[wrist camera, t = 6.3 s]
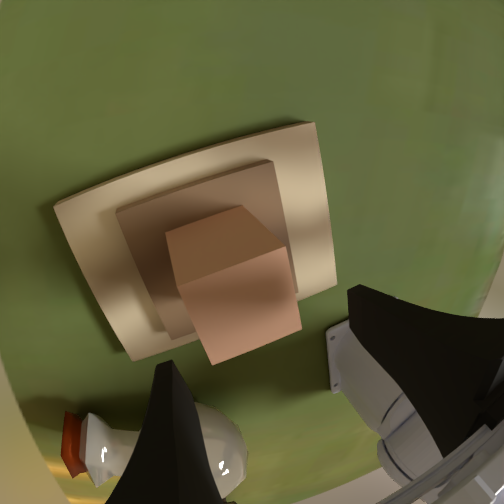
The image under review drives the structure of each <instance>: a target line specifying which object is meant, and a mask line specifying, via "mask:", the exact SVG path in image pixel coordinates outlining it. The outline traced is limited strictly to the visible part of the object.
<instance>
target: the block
mask: <svg viewBox="0 0 504 504" xmlns="http://www.w3.org/2000/svg"><path fill="white" fill-rule="evenodd" d="M165 234H166V239H167V244H168V249H169V253H170V258H171V263H172V267H173V272H174V276H175V281H176V285H177V288H178V291H179V293H180V295H181V298H182V300H183V302H184V305H185V307H186V309H187V311H188V314H189V316H190V318H191V320H192V323H193V325H194V327H195V329H196V332H197V334H198V336H199V338H200V340H201V342H202V345H203V347H204V349H205V351H206V353H207V355H208V357H209V359H210V362H211V364H212V365H215V364H217V363H220V362H223V361H225V360H228V359H230V358H233V357H236V356H238V355H241V354H243V353H246V352H248V351H251V350H253V349H256V348H258V347H261V346H263V345H266V344H268V343H270V342H273V341H275V340H278V339H280V338H282V337H285V336H287V335H289V334H292V333H294V332H296V331H299V330H301V329H302V326H301V320H300V315H299V310H298V305H297V299H296V294H295V289H294V284H293V279H292V274H291V269H290V264H289V259H288V254H287V249H286V246H285V245H284V244H283V243H282V242H281V241H280V240H279V239H278V238H277V237H276V236H275V235H274V234H273V233H271V232H270V231H269V230H268V229H267V228H266V227H265V226H264V225H263V224H262V223H261V222H260V221H259V220H258V219H257V218H256V217H254V216H253V215H252V214H251V213H250V212H249V211H248V210H247V209H246V208H245V207H244V206H243V205H242V206H239V207H236V208H233V209H230V210H227V211H224V212H221V213H218V214H215V215H213V216H210V217H207V218H204V219H201V220H198V221H196V222H193V223H190V224H187V225H185V226H182V227H179V228H176V229H174V230H171V231H168V232H165Z"/></svg>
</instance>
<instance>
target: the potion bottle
mask: <svg viewBox="0 0 504 504" xmlns="http://www.w3.org/2000/svg"><path fill="white" fill-rule="evenodd" d="M194 403H195V406H196V409H197V412H198V415H199V420H200V425H201V430H202V434H203V439H204V443H205V448H206V452H207V457H208V461H209V465H210V468H211V472H212V475H213V477H214V480H215V483H216V485H217V488H218V491H219V493H220V496H221V498H222V499H224V498H225V497H226V496H227V495H229V494H230V493H231V492H232V491H233V490H234V489H235V488H236V487H237V486H238V485H239V484H240V483H241V482H242V481H243V480H244V479H245V478H246V471H247V462H248V450H247V447H246V444H245V441H244V439H243V436H242V434H241V431H240V429H239V426H238V425H237V424H236V423H235V422H233V421H232V420H231V419H230V418H228V417H227V416H226V415H225V414H223V413H222V412H221V411H220V410H219V409H217V408H216V407H215V406H212V405H207V404H202V403H197V402H194ZM140 431H141V429H140V430H139V431H127V430H117V429H114V428H113V427H111V426H110V425H109V424H108V423H107V422H106V421H105V420H104V419H102V418H101V417H100V416H99V415H95V414H92V413H88V415H87V416H86V418H85V419H84V421H83V420H82V419H81V418H80V417H79V416H78V414H74V413H70V412H67V411H65V417H64V426H63V435H62V446H61V457H62V459H63V461H64V463H65V465H66V467H67V469H68V471H69V472H70V474H71V476H72V478H74V477H75V476H77V475H78V474H79V473H84V472H86V473H87V475H88V476H89V478H90V479H91V480H92V482H93V483H94V485H95V486H96V488H97V487H98V486H100V485H101V484H102V483H104V482H105V481H107V480H108V479H109V478H111V477H112V476H122V474H123V472H124V470H125V468H126V466H127V464H128V462H129V459H130V457H131V455H132V453H133V450H134V448H135V445H136V442H137V440H138V437H139V434H140Z"/></svg>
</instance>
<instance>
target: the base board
mask: <svg viewBox="0 0 504 504" xmlns="http://www.w3.org/2000/svg"><path fill="white" fill-rule="evenodd" d="M242 205H243V206H244V207H245V208H246V209H247V210H248V211H249V212H250V213H251V214H252V215H253V216H254V217H256V218H257V219H258V220H259V221H260V222H261V223H262V224H263V225H264V226H265V227H266V228H267V229H268V230H269V231H270V232H271V233H273V234H274V235H275V236H276V237H277V238H278V239H279V240H280V241H281V242H282V243H283V244H284V245H285V246H286V249H287V254H288V259H289V264H290V269H291V274H292V279H293V284H294V289H295V294H296V299H297V301H299V300H302V299H304V298H307V297H309V296H311V295H314V294H316V293H319V292H321V291H323V290H326V289H328V288H330V287H333V286H335V285H337V278H336V268H335V258H334V249H333V240H332V232H331V224H330V216H329V208H328V201H327V194H326V187H325V180H324V174H323V167H322V161H321V155H320V149H319V143H318V137H317V132H316V126H315V122H309V121H304V122H300V123H295V124H291V125H286V126H282V127H278V128H274V129H269V130H265V131H261V132H257V133H253V134H250V135H246V136H242V137H238V138H235V139H231V140H227V141H224V142H220V143H217V144H214V145H210V146H207V147H203V148H200V149H197V150H194V151H190V152H187V153H184V154H181V155H178V156H175V157H172V158H169V159H166V160H163V161H160V162H157V163H154V164H151V165H148V166H145V167H143V168H140V169H137V170H134V171H132V172H129V173H126V174H124V175H121V176H118V177H116V178H113V179H110V180H108V181H105V182H103V183H100V184H98V185H95V186H93V187H90V188H88V189H86V190H83V191H81V192H78V193H76V194H74V195H71V196H69V197H67V198H65V199H62V200H60V201H58V202H57V203H56V204H55V205H54V206H53V208H54V210H55V213H56V215H57V218H58V220H59V222H60V225H61V227H62V229H63V232H64V234H65V236H66V238H67V241H68V243H69V245H70V247H71V250H72V252H73V254H74V256H75V258H76V260H77V262H78V264H79V266H80V268H81V270H82V273H83V275H84V277H85V279H86V280H87V282H88V284H89V286H90V288H91V290H92V292H93V294H94V296H95V298H96V300H97V301H98V303H99V305H100V307H101V309H102V311H103V312H104V314H105V316H106V318H107V320H108V321H109V323H110V325H111V327H112V328H113V330H114V332H115V333H116V335H117V337H118V338H119V340H120V342H121V343H122V345H123V347H124V348H125V350H126V351H127V353H128V355H129V356H130V358H131V359H132V361H133V362H134V361H137V360H140V359H143V358H146V357H150V356H153V355H155V354H158V353H161V352H164V351H167V350H170V349H173V348H176V347H179V346H182V345H185V344H187V343H190V342H193V341H196V340H199V339H200V338H199V336H198V334H197V332H196V329H195V327H194V325H193V323H192V320H191V318H190V316H189V314H188V311H187V309H186V307H185V305H184V302H183V300H182V298H181V295H180V293H179V291H178V288H177V285H176V281H175V276H174V272H173V267H172V263H171V258H170V253H169V249H168V244H167V239H166V234H165V232H168V231H171V230H174V229H176V228H179V227H182V226H185V225H187V224H190V223H193V222H196V221H198V220H201V219H204V218H207V217H210V216H213V215H215V214H218V213H221V212H224V211H227V210H230V209H233V208H236V207H239V206H242Z"/></svg>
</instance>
